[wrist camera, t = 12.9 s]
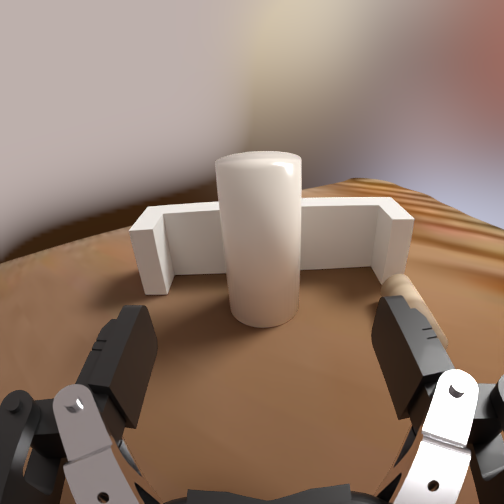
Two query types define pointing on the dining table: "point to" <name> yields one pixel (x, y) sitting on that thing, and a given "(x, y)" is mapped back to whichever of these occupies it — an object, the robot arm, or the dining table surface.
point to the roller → (411, 300)
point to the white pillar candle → (261, 234)
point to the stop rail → (312, 238)
